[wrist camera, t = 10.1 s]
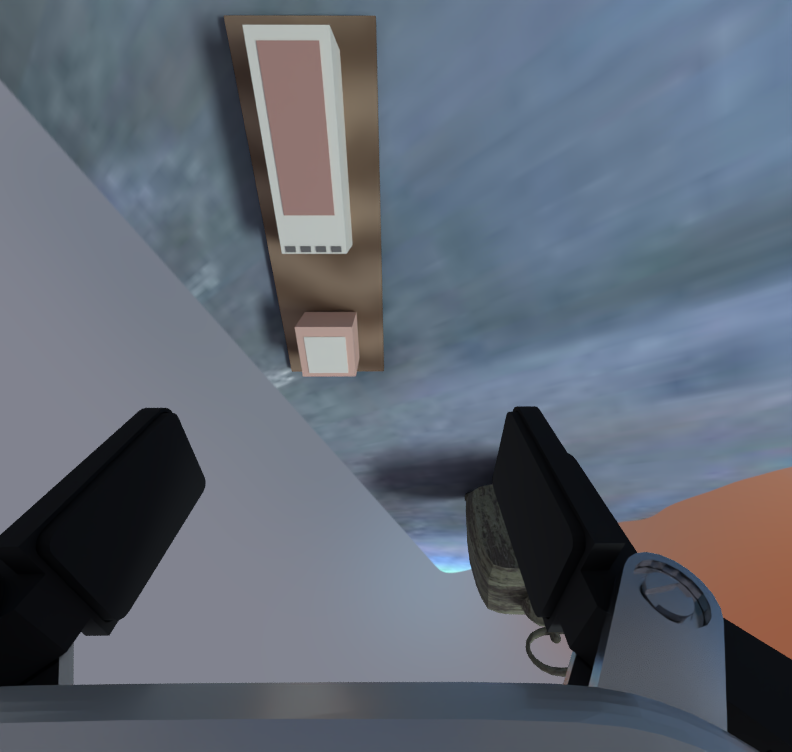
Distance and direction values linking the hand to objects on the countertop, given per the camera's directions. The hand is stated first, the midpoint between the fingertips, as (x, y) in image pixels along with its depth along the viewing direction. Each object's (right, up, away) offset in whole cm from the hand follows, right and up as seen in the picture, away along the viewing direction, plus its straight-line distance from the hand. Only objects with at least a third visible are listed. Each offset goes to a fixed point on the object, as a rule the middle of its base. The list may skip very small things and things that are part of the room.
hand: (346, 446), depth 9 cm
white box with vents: (-6, +23, +22) cm, 32 cm away
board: (-6, +17, +25) cm, 31 cm away
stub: (-6, +7, +30) cm, 31 cm away
